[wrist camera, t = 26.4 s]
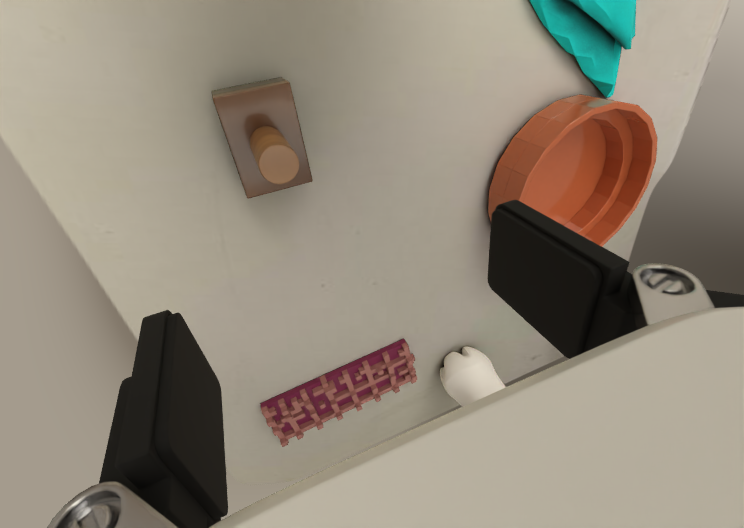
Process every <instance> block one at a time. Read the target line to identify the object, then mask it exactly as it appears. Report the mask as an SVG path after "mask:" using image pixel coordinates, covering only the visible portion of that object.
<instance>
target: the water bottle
mask: <svg viewBox="0 0 744 528" xmlns="http://www.w3.org/2000/svg"><path fill="white" fill-rule="evenodd" d="M440 377H441V381H442V384H443V386H444V388H445V390H446V391H447V393H448V394H449V395H450V396H451V397H452V398H454V399H455V400H456V401H457V402H458V403H459V404H460V405H461V406H462V407H463V406H466V405H468V404H470V403H472V402H474V401H477V400H479V399H481V398H483V397H486V396H488V395H490V394H492V393H495V392H497V391H499V390H501V389H503V388H506V386H505V385H504V384H503V383H502V381H501V380H500V378H499V377H498V375H497V374H496V372H495V370H494V368H493V365H492V362H491V361H490V360H489V359H488V357H487V356H485V355H484V354H483V353H482V352H480V351H478V350H476V349H474V348H472V347H463V348H462V355H461V354H459V353H457V352H454V351H453V352H451V353H449V354H448V355H447V356H446V357H445V359H444V367H443V368H441V369H440Z"/></svg>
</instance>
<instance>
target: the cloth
mask: <svg viewBox="0 0 744 528" xmlns="http://www.w3.org/2000/svg"><path fill="white" fill-rule="evenodd" d="M530 2H531V4H532V6H533V8H534V9H535V11H536V13H537V15H538V17H539V18H540V20H541V22H542V23H543V25H544V26H545V27H546V28H547V29H548V31H549V32H550V33H551V34H552V35H553V37H554V38H555V39H556V40H557V41H558V42H559V44H560V45H561V46H562V47H563V48H564V49H565V51H566V52H568V53H570V54H572V55H574V56H575V58H576V59H577V61H578V63H579V65H580V67H581V69H582V71H583V73H584V74H585V75H586V76H587V77H588V78H589V79H590V80H591V81H592V82H593V83H594V84H595V86H596V87H597V88H598V89H599V90H600V91H601V92H602V94H603V95H604V96H605V97H606V98H608V97H611V96H612V95H613V93H614V88H615V83H616V78H617V72H618V66H619V60H620V54H621V46H622V47H623V48H624V49H631V40H632V38H633V37H634V36H635V17H636V0H530Z"/></svg>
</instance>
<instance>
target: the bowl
mask: <svg viewBox="0 0 744 528" xmlns="http://www.w3.org/2000/svg"><path fill="white" fill-rule="evenodd" d="M656 151H657V135H656V132H655V128H654V125H653V121H652V119H651V117H650V116H649V115H648V114H647V113H646V112H645V111H644V110H643V109H642V108H640V107H639V106H638V105H634V104H629V103H624V102H619V101H613V100H608V99H602V98H597V97H592V96H586V95H581V94H580V95H576V96H572V97H568V98H564V99H560V100H557V101H555V102H554V103H552V104H551V105H549V106H548V107H546V108H545V109H543V110H541V111H540V112H538V113H537V114H535V115H534V116H533V117H532V118H531V119H530V120H529V121H528V122H527V123H526V124H525V125H524V126H523V128H522V129H521V130H520V131H519V132H518V133H517V134H516V135H515V136H514V138H513V139H512V140H511V142H510V144H509V145H508V147H507V149H506V150H505V152H504V154H503V155H502V157H501V159H500V160H499V162H498V164H497V167H496V170H495V173H494V176H493V180H492V183H491V186H490V190H489V205H488V214H489V218H490V221H491V216H492V213H493V211H495V208H496V206H497V205H499V204H502V203H505V202H508V201H511V200H518V201H520V202H522V203H524V204H526V205H527V206H529V207H531V208H533V209H535V210H536V211H538V212H540V213H542V214H544V215H545V216H547V217H549V218H551V219H553V220H554V221H556V222H558V223H560V224H562V225H563V226H565V227H567V228H569V229H571V230H572V231H574V232H576V233H578V234H580V235H581V236H583V237H585V238H587V239H589V240H590V241H592V242H594V243H596V244H598V245H599V246H601V247H602V246H603V245H604V244H605V243H606V242H607V241H608V240H609V239H610V238H611V237H612V236H613V235H615V234H616V233H617V232H618V231H619V229H620V228H621V227H622V226H623V225H624V223H625V222H626V221H627V219H628V218H629V217H630V215H631V214H632V213H633V211H634V210H635V208H636V207H637V205H638V203H639V201H640V199H641V198H642V196H643V194H644V192H645V190H646V188H647V186H648V184H649V181H650V178H651V174H652V171H653V168H654V165H655V162H656Z"/></svg>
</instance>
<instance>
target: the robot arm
mask: <svg viewBox="0 0 744 528" xmlns="http://www.w3.org/2000/svg"><path fill="white" fill-rule="evenodd" d="M628 265H629V262H628V261H626V260H625V259H623V258H621V257H619V256H617V255H616V254H614V253H612V252H610V251H608V250H607V249H605V248H603V247H601V246H599V245H598V244H596V243H594V242H592V241H590V240H589V239H587V238H585V237H583V236H581V235H580V234H578V233H576V232H574V231H572V230H571V229H569V228H567V227H565V226H563V225H562V224H560V223H558V222H556V221H554V220H553V219H551V218H549V217H547V216H545V215H544V214H542V213H540V212H538V211H536V210H535V209H533V208H531V207H529V206H527V205H526V204H524V203H522V202H520V201H518V200H511V201H508V202H505V203H502V204H499V205H497V206H496V208H495V211H493V213H492V216H491V232H490V249H489V265H488V283H489V286H490V287H491V289H492V290H493V291H494V292H495V293H496V294H497V295H499V296H500V297H501V298H502V299H503V300H504V301H505V302H506V303H507V304H508V305H509V306H511V307H512V308H513V309H514V310H515V311H516V312H517V313H518V314H519V315H520V316H522V317H523V318H524V319H525V320H526V321H527V322H528V323H529V324H530V325H531V326H533V327H534V328H535V329H536V330H537V331H538V332H539V333H540V334H541V335H542V336H543V337H545V338H546V339H547V340H548V341H549V342H550V343H551V344H552V345H553V346H554V347H556V348H557V349H558V350H559V351H560V352H561V353H562V354H563V355H564V356H566V357H567V358H569V360H566V361H564V362H562V363H560V364H557V365H555V366H553V367H551V368H548V369H546V370H544V371H542V372H539V373H537V374H535V375H533V376H530V377H528V378H526V379H524V380H521V381H519V382H517V383H515V384H512V385H510V386H508V387H506V388H503V389H501V390H499V391H497V392H495V393H492V394H490V395H488V396H486V397H483V398H481V399H479V400H477V401H474V402H472V403H470V404H468V405H466V406H463V407H461V408H459V409H457V410H455V411H452V412H450V413H448V414H446V415H443V416H441V417H439V418H437V419H435V420H432V421H430V422H428V423H426V424H423V425H421V426H419V427H417V428H415V429H412V430H410V431H408V432H406V433H404V434H401V435H399V436H397V437H395V438H393V439H390V440H388V441H386V442H384V443H382V444H380V445H377V446H375V447H373V448H371V449H369V450H366V451H364V452H362V453H360V454H358V455H355V456H353V457H351V458H349V459H347V460H345V461H342V462H340V463H338V464H336V465H333V466H331V467H329V468H327V469H325V470H323V471H321V472H318V473H316V474H314V475H312V476H310V477H308V478H306V479H304V480H301V481H299V482H297V483H295V484H293V485H291V486H289V487H287V488H285V489H283V490H281V491H279V492H276V493H274V494H272V495H270V496H268V497H266V498H264V499H261V500H260V501H257V502H255V503H253V504H251V505H249V506H248V507H246V508H244V509H242V510H240V511H238V512H236V513H234V514H233V515H230V516H229V517H227V518H225V519H223V520H221V517H223V516H225V515H227V512H228V501H227V484H226V466H225V449H224V431H223V414H222V397H221V388H220V384H219V381H218V379H217V377H216V375H215V373H214V372H213V370H212V368H211V366H210V365H209V363H208V361H207V359H206V358H205V356H204V354H203V352H202V351H201V349H200V347H199V345H198V344H197V342H196V340H195V338H194V337H193V335H192V333H191V331H190V330H189V328H188V326H187V324H186V323H185V321H184V319H183V317H182V316H181V314H180V313H175V314H172V313H171V312H170V311H169V310H166V311H163V312H160V313H156V314H153V315H150V316H147V317H145V318H143V321H142V326H141V331H140V336H139V341H138V346H137V352H136V357H135V362H134V367H133V372H132V377H129V378H126V379H125V380H123V381H122V384H121V386H120V390H119V395H118V399H117V404H116V408H115V413H114V417H113V422H112V426H111V431H110V436H109V440H108V445H107V450H106V454H105V459H104V463H103V468H102V472H101V477H100V481H99V484H97V485H94V486H91V487H90V488H88V489H86V490H85V491H83V492H81V493H79V494H78V495H77V496H75V497H74V498H73V499H72V500H70V501H69V502H68V503H67V504H66V505H65V506H64V507H63V508H62V509H61V510H60V511H59V512H58V513H57V515H56V516H55V517H54V518H53V519H52V521H51V523H50V524H49V526H48V527H47V528H744V295H739V294H732V293H724V292H717V291H709V290H705V288H704V286H703V285H702V283H701V282H700V281H699V279H698V278H697V277H695V276H694V275H692V274H691V273H690V272H687V271H685V270H683V269H681V268H678V267H675V266H671V265H665V264H646V265H641V266H640V267H638V268H636V269H635V270H634V272H633V274H631V273H629V272H627V267H628Z"/></svg>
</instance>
